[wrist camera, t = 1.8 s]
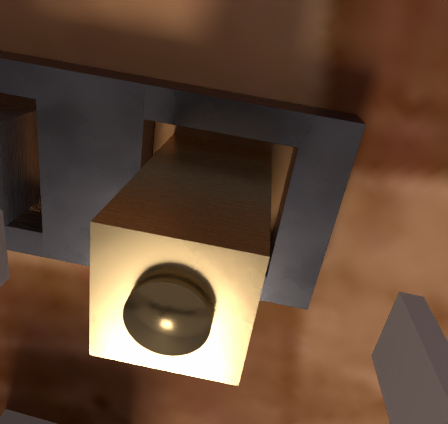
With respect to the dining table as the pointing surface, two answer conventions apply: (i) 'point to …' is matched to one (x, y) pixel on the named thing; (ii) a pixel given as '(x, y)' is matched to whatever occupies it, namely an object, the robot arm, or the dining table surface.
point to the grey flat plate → (142, 152)
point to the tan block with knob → (183, 260)
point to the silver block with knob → (18, 160)
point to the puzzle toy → (20, 418)
